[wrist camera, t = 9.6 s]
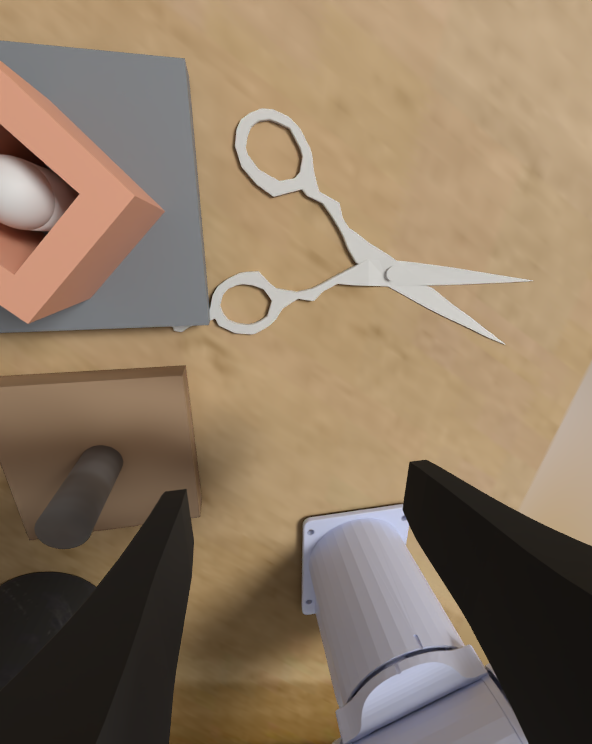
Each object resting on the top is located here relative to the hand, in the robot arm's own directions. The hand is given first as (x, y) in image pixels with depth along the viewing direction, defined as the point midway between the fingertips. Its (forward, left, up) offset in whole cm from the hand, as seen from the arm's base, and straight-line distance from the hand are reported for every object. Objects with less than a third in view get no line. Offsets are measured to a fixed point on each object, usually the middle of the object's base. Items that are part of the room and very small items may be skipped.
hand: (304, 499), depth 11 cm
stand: (-3, +9, -9) cm, 13 cm away
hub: (+9, +8, -9) cm, 15 cm away
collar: (+9, +8, -8) cm, 14 cm away
